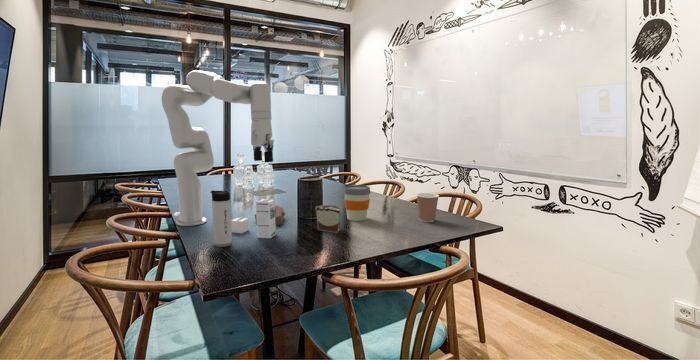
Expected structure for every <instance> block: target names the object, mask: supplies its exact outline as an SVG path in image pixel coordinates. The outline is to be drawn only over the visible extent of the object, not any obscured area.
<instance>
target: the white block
mask: <svg viewBox="0 0 700 360" xmlns="http://www.w3.org/2000/svg"><path fill="white" fill-rule="evenodd" d="M249 230H250V228H249V218H244V217H236V218H233V219H231V233H234V234H235V233H237V234H244V233H245V232H248V231H249Z"/></svg>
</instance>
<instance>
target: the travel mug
mask: <svg viewBox="0 0 700 360" xmlns="http://www.w3.org/2000/svg"><path fill="white" fill-rule="evenodd" d="M210 194H211V208H212V209H211V210H212V231H213V234H212V235H213V246H214V247H217V248H225V247H229V246H232V244H233V234H232V233H233V232H231V220H232V215H231V213H232V211H231V210H232V209H231V208H232V207H231V194H230V192H229V191H224V190H213V189H212V190H210Z"/></svg>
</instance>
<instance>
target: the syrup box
mask: <svg viewBox="0 0 700 360" xmlns="http://www.w3.org/2000/svg"><path fill="white" fill-rule="evenodd" d="M275 205H276V200H275V199H274V198H273V199H271V198H262V199H260V200H258V201H256V202H255V212H256V213H255V214H256V218H257V222H256V233H257V235H256V236H257V238H258V239H272V238H273V237H275V236H276V235H277V225H276V212H275Z"/></svg>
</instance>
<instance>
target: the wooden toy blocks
mask: <svg viewBox="0 0 700 360" xmlns="http://www.w3.org/2000/svg"><path fill="white" fill-rule="evenodd" d="M275 212H276V226H280V225H283V219H284V217H285V214H286V212H285V211H284V208H283V207H281V206H279V205H276V204H275ZM254 219H255V222H256V223H257V218H256V213H255V214H254Z"/></svg>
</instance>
